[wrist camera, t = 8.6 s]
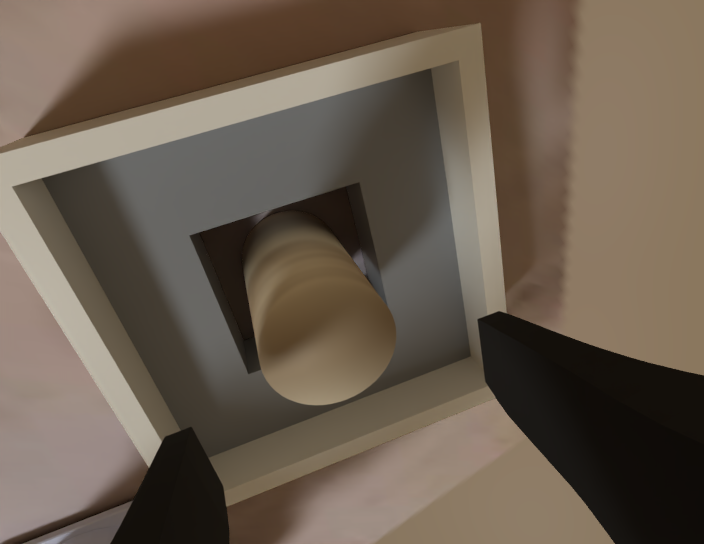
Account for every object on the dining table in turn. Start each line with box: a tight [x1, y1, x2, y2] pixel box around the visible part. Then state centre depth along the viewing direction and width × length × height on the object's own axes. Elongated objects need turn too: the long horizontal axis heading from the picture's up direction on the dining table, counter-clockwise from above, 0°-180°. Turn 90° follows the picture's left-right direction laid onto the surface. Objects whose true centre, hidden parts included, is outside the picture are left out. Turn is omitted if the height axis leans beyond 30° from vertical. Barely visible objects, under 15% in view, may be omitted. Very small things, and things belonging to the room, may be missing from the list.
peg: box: [242, 211, 396, 405], centre depth 16 cm, size 4×4×7 cm
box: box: [0, 23, 507, 507], centre depth 17 cm, size 14×14×4 cm
